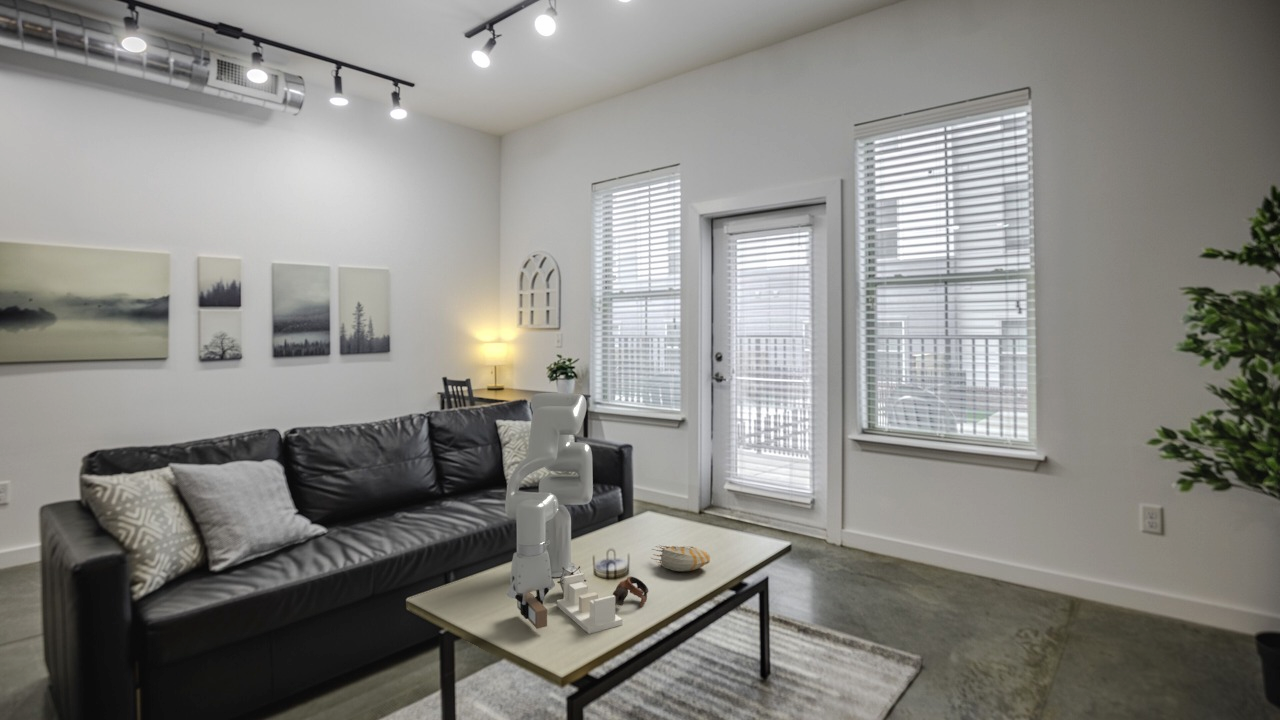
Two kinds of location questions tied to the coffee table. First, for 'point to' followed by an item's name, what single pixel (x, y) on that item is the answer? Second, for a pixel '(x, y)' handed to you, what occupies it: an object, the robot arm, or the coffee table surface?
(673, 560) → the nautilus
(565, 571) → the wire frame polyhedron
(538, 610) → the tall brown box
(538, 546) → the robot arm
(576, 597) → the stand
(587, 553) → the coffee table surface
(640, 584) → the brown curved ringed piece
